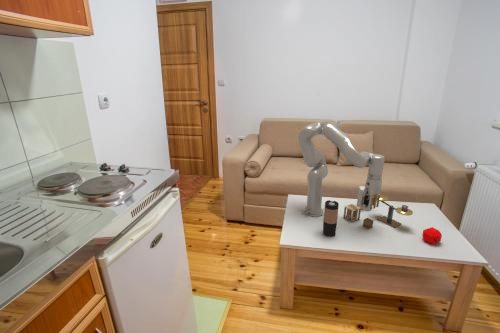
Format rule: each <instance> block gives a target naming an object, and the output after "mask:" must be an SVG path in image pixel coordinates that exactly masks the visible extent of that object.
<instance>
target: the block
mask: <svg viewBox="0 0 500 333" xmlns="http://www.w3.org/2000/svg"><path fill="white" fill-rule="evenodd" d="M374 221H375V220H373V219H371V218H369V217H366V218H364V219H363V223H362V227H363V228H365V229H366V230H370V229H373V227H374V226H373V225H374Z"/></svg>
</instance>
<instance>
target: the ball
mask: <svg viewBox="0 0 500 333" xmlns="http://www.w3.org/2000/svg"><path fill="white" fill-rule="evenodd" d="M421 235H422V236H421V237H422V239H423V240H424V241H425V242H427V243H428V244H430V245H434V244H436V243H439V242H441V240H442V237H443V236H442V233H441V231H440V230H439V229H437V228H435V227H433V226H432V227H428V228H425V229H423V231H422V233H421Z"/></svg>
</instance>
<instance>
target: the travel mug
mask: <svg viewBox="0 0 500 333" xmlns="http://www.w3.org/2000/svg"><path fill="white" fill-rule="evenodd" d="M339 206H340V205H339V202H338V201H336V200H326V201H325V202H324V210H323V220H322V221H323V222H322V223H323V224H322V234H323V235H324V236H325V237H329V238H332V237H335V235H336V232H337V223H338V218H339V217H338V216H339Z"/></svg>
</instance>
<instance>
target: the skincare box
mask: <svg viewBox="0 0 500 333" xmlns="http://www.w3.org/2000/svg"><path fill="white" fill-rule="evenodd" d="M364 189H365V185H359V186H358V191H357V200H356V206H358V207H360V208H361V211H371V210H370V205H371V199H372V197H370V201H369V205H368V207H367V208H366V207H365V205H364V204H363V205H361V200H362V194H363V192H364ZM363 202H364V200H363Z"/></svg>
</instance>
